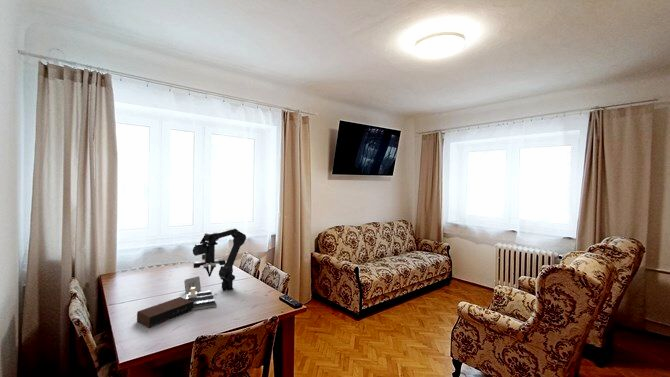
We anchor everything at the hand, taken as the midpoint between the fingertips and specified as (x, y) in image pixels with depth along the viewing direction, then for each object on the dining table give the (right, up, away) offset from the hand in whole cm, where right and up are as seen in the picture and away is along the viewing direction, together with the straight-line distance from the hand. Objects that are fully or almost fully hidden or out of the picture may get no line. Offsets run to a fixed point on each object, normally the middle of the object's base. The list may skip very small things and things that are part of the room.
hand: (209, 276), depth 183 cm
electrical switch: (-15, -12, +6) cm, 20 cm away
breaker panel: (-3, -13, -8) cm, 15 cm away
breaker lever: (-6, -10, -9) cm, 15 cm away
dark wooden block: (-11, -13, -29) cm, 33 cm away
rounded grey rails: (+3, -13, -18) cm, 22 cm away
